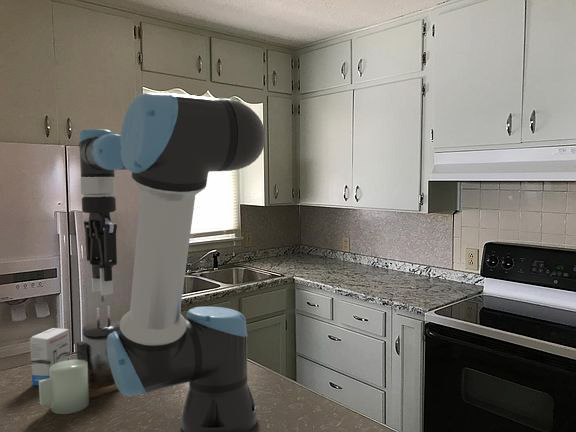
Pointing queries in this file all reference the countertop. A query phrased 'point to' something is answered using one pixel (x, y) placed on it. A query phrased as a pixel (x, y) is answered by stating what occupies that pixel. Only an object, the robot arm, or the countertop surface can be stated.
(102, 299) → the plunger
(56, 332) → the ink box
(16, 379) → the countertop surface
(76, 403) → the sage mug
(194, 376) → the robot arm
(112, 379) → the glass french press
